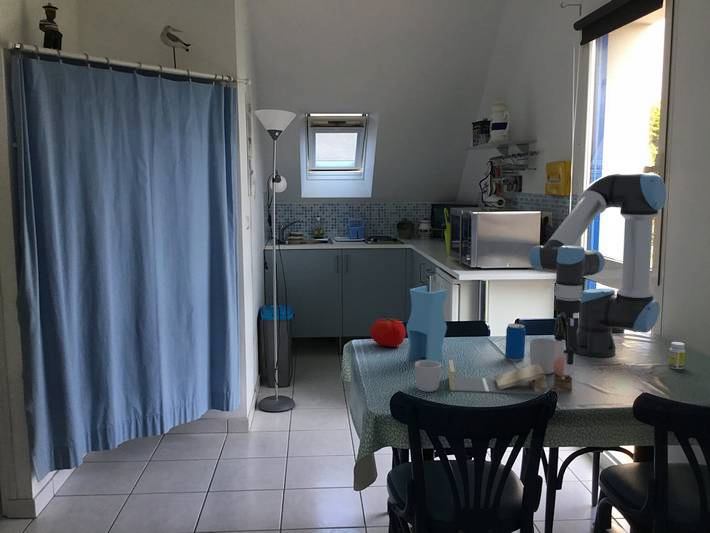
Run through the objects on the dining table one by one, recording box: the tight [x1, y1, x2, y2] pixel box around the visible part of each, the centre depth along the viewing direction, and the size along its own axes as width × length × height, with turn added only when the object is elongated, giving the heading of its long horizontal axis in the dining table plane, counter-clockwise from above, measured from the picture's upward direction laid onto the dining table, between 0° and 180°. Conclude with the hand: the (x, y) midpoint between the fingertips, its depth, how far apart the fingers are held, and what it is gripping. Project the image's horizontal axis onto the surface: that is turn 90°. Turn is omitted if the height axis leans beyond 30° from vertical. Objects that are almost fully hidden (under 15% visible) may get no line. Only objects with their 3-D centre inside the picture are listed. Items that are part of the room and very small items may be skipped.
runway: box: [447, 359, 551, 396], centre depth 195 cm, size 30×12×6 cm, turn 84°
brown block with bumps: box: [553, 372, 573, 392], centre depth 193 cm, size 5×5×4 cm
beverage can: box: [504, 323, 527, 362], centre depth 223 cm, size 6×6×12 cm
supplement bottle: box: [668, 341, 686, 370], centre depth 215 cm, size 5×5×8 cm
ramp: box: [494, 363, 547, 392], centre depth 194 cm, size 14×9×6 cm, turn 84°
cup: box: [414, 359, 442, 393], centre depth 193 cm, size 11×8×8 cm
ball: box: [553, 356, 571, 377], centre depth 193 cm, size 6×6×6 cm
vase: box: [405, 285, 448, 363], centre depth 219 cm, size 10×10×25 cm
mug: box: [529, 338, 565, 375], centre depth 211 cm, size 13×9×10 cm
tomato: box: [370, 317, 407, 348], centre depth 239 cm, size 13×12×11 cm
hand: (563, 367), depth 192 cm, fingers open, 13 cm apart
